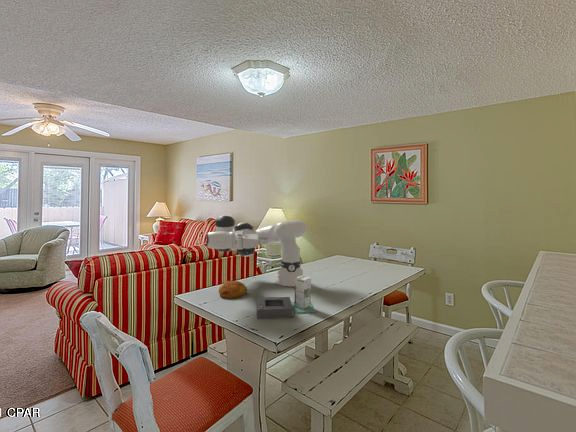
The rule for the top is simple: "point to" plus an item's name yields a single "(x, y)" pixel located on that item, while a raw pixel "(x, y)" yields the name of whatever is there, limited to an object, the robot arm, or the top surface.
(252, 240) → the robot arm
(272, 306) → the iron collar
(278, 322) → the top surface
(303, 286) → the syrup box
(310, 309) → the rubber mat
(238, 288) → the croissant
